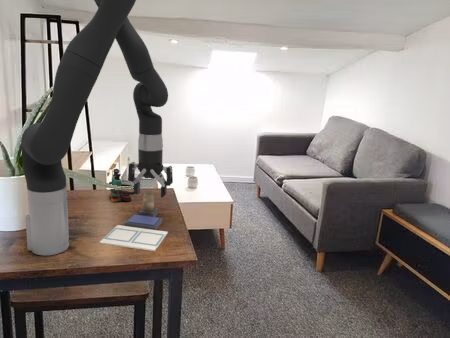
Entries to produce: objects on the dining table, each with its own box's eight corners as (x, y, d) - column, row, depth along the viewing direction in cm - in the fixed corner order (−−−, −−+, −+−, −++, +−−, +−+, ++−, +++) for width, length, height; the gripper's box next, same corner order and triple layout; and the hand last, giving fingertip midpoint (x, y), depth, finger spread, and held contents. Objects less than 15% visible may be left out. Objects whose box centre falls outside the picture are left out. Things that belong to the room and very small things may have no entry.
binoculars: (140, 176, 139) (111, 174, 135) (136, 204, 142) (108, 203, 138) (136, 169, 147) (109, 167, 143) (133, 195, 150) (106, 194, 146)
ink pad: (124, 226, 121) (124, 221, 121) (132, 217, 128) (132, 213, 127) (155, 230, 120) (155, 226, 119) (162, 221, 126) (162, 217, 126)
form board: (99, 243, 109) (99, 241, 109) (117, 226, 121) (117, 224, 121) (154, 251, 107) (154, 249, 107) (167, 232, 119) (167, 231, 118)
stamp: (138, 217, 128) (138, 194, 126) (143, 211, 133) (144, 189, 131) (153, 219, 128) (153, 196, 126) (158, 213, 133) (158, 191, 130)
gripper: (124, 147, 121) (125, 196, 126) (168, 152, 119) (167, 201, 124) (133, 142, 129) (134, 189, 133) (175, 146, 126) (174, 193, 131)
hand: (150, 195), depth 129 cm, fingers open, 8 cm apart
